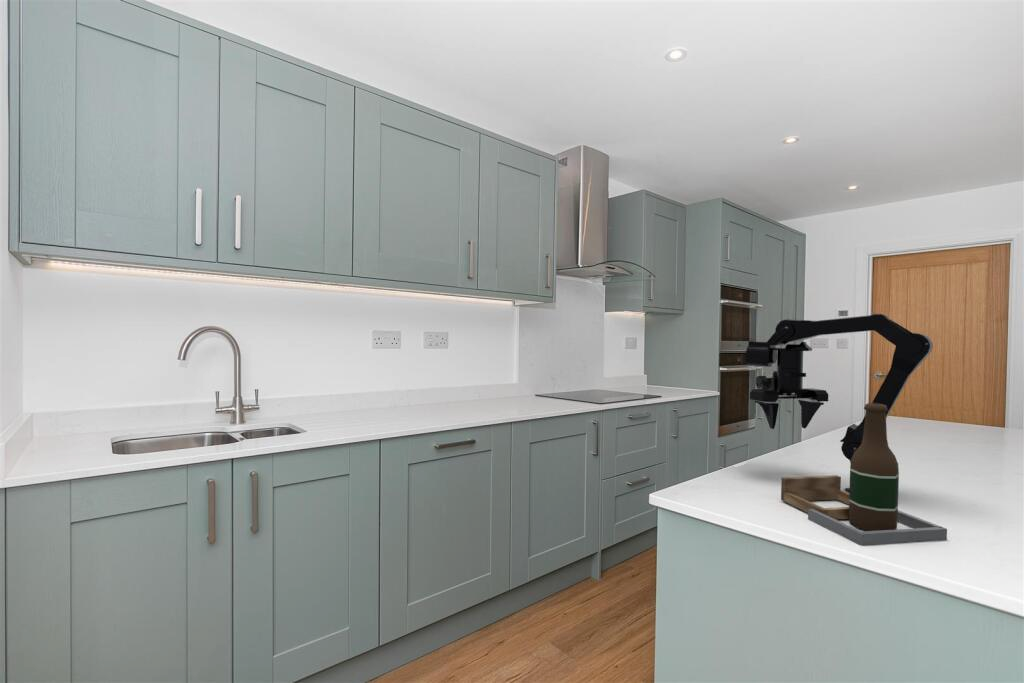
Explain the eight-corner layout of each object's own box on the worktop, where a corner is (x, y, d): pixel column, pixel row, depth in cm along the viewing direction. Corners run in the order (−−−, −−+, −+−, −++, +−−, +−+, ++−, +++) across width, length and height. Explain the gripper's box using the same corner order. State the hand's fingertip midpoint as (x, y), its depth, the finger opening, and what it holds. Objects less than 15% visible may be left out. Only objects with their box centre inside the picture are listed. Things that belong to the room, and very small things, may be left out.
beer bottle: (903, 538, 91) (907, 408, 90) (852, 530, 94) (856, 405, 94) (891, 523, 98) (894, 403, 97) (844, 517, 101) (847, 400, 101)
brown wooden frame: (836, 497, 113) (836, 475, 113) (883, 516, 101) (884, 492, 101) (780, 499, 110) (781, 477, 110) (823, 520, 99) (823, 495, 98)
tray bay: (884, 514, 103) (885, 505, 103) (946, 539, 90) (947, 528, 90) (807, 518, 100) (808, 509, 100) (861, 545, 88) (861, 534, 87)
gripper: (798, 366, 137) (797, 422, 137) (737, 365, 134) (736, 423, 134) (830, 369, 126) (829, 430, 126) (765, 369, 123) (763, 431, 123)
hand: (788, 428), depth 128 cm, fingers open, 9 cm apart
